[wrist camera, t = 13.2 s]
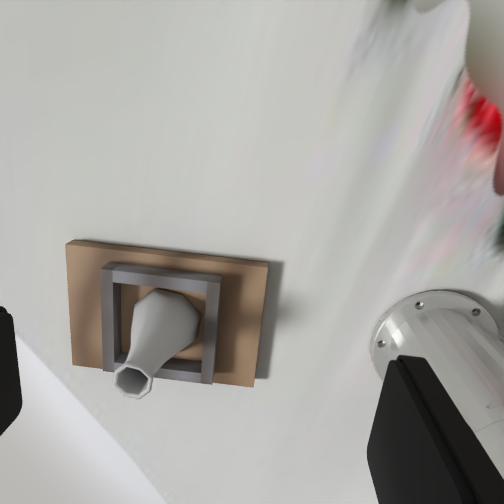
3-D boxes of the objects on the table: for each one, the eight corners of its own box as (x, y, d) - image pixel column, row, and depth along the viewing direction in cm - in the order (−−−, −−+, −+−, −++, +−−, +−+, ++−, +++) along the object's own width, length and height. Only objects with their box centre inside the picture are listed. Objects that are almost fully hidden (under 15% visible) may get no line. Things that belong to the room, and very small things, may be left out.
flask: (181, 362, 41) (152, 433, 32) (120, 329, 40) (73, 392, 31) (214, 311, 39) (194, 371, 29) (151, 275, 38) (109, 325, 29)
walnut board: (268, 262, 38) (267, 275, 35) (254, 378, 43) (252, 400, 40) (72, 239, 39) (54, 250, 36) (79, 357, 43) (63, 376, 40)
